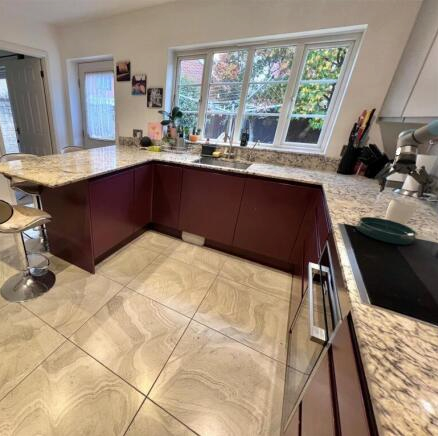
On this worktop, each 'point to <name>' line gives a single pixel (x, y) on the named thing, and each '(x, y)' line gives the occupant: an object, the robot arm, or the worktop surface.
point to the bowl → (386, 230)
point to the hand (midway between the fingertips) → (400, 193)
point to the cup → (401, 210)
